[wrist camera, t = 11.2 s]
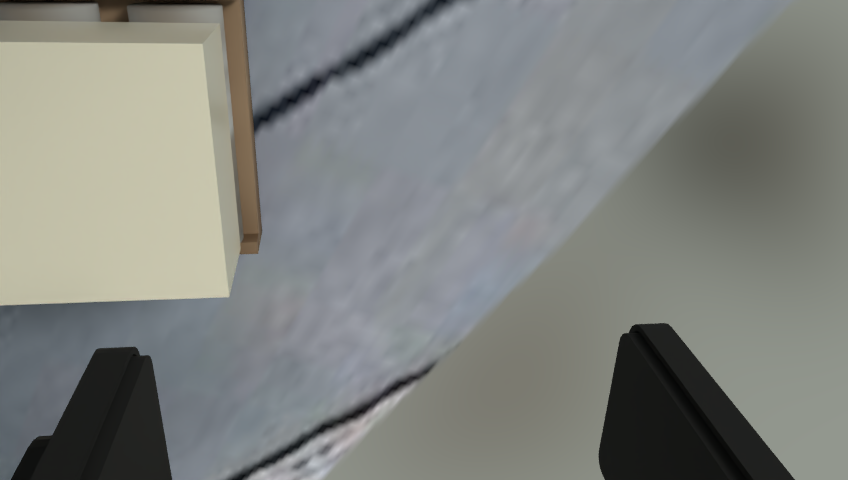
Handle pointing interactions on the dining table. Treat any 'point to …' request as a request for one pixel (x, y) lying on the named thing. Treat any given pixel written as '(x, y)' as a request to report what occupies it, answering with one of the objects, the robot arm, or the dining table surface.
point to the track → (226, 7)
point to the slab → (114, 163)
